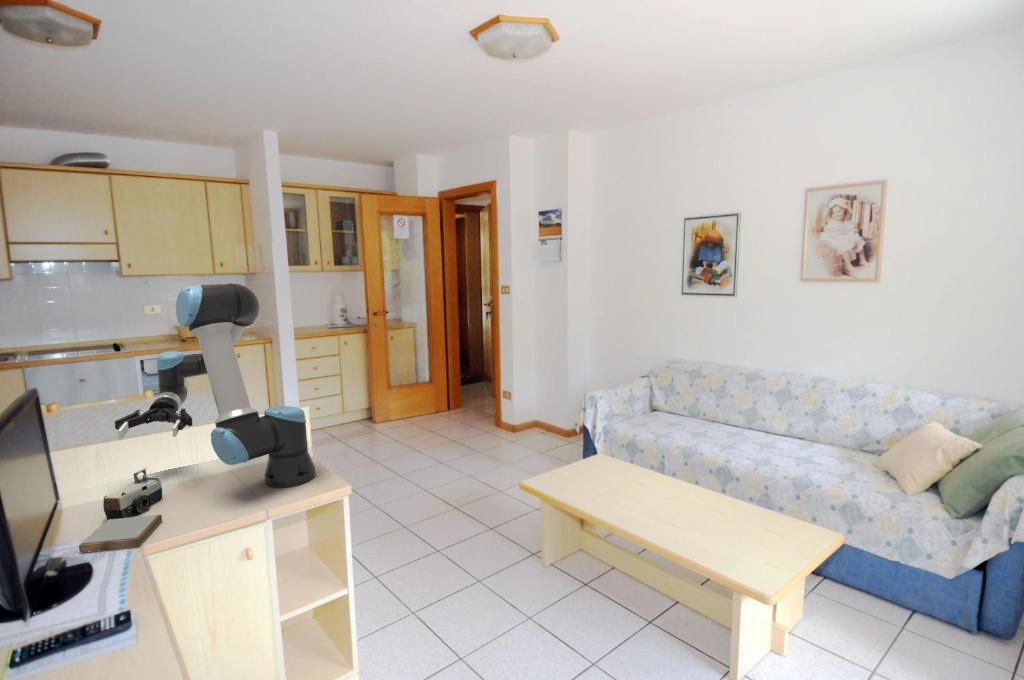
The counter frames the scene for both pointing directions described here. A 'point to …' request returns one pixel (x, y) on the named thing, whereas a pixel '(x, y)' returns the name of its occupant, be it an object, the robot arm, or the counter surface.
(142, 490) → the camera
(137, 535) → the walnut stand
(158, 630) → the counter surface
